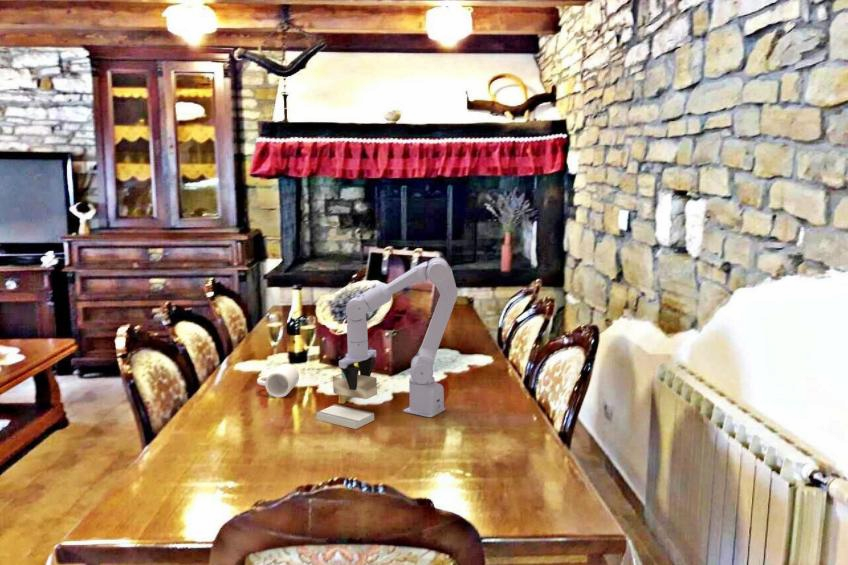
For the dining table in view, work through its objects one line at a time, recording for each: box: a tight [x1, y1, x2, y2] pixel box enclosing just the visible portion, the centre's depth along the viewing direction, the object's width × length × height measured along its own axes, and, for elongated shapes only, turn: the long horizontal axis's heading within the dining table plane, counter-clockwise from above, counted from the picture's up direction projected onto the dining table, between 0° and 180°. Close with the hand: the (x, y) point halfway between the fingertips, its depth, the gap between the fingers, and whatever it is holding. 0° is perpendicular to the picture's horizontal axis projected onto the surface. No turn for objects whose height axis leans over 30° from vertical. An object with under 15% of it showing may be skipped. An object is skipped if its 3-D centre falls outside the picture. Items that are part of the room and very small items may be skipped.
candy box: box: [338, 363, 360, 405], centre depth 218 cm, size 16×2×8 cm, turn 170°
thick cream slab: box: [332, 372, 378, 400], centre depth 204 cm, size 12×5×5 cm, turn 56°
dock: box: [315, 403, 375, 430], centre depth 197 cm, size 14×8×2 cm, turn 56°
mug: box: [256, 363, 300, 399], centre depth 221 cm, size 12×10×8 cm
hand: (358, 386), depth 203 cm, fingers closed on thick cream slab, 5 cm apart
